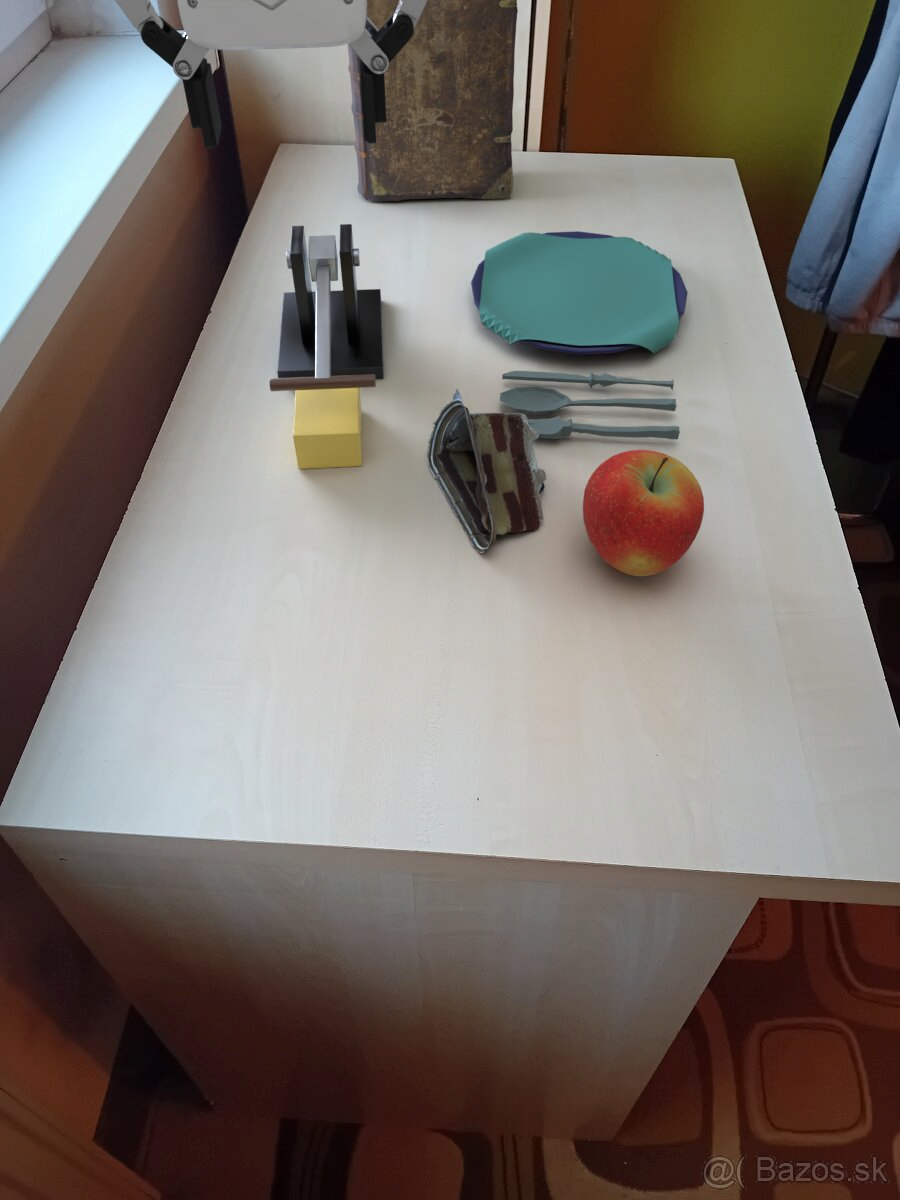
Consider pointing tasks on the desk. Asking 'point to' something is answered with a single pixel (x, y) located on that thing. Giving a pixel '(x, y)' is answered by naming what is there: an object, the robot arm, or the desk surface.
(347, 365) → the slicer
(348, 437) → the butter
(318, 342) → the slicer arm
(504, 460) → the chocolate cake
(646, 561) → the apple
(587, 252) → the cutlery set
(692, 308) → the desk surface
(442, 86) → the book
